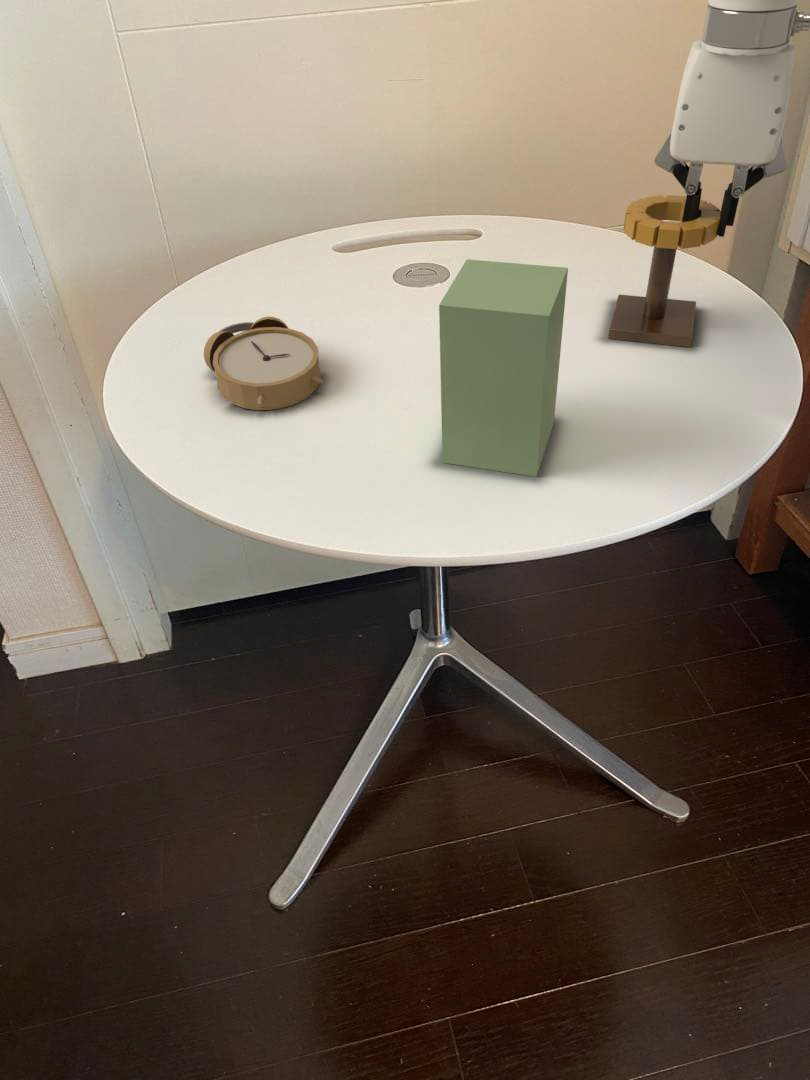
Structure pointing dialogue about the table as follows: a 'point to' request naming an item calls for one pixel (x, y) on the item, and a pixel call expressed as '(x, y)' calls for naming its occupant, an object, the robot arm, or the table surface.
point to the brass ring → (670, 223)
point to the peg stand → (655, 309)
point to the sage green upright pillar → (500, 364)
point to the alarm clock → (263, 364)
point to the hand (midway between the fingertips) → (705, 229)
